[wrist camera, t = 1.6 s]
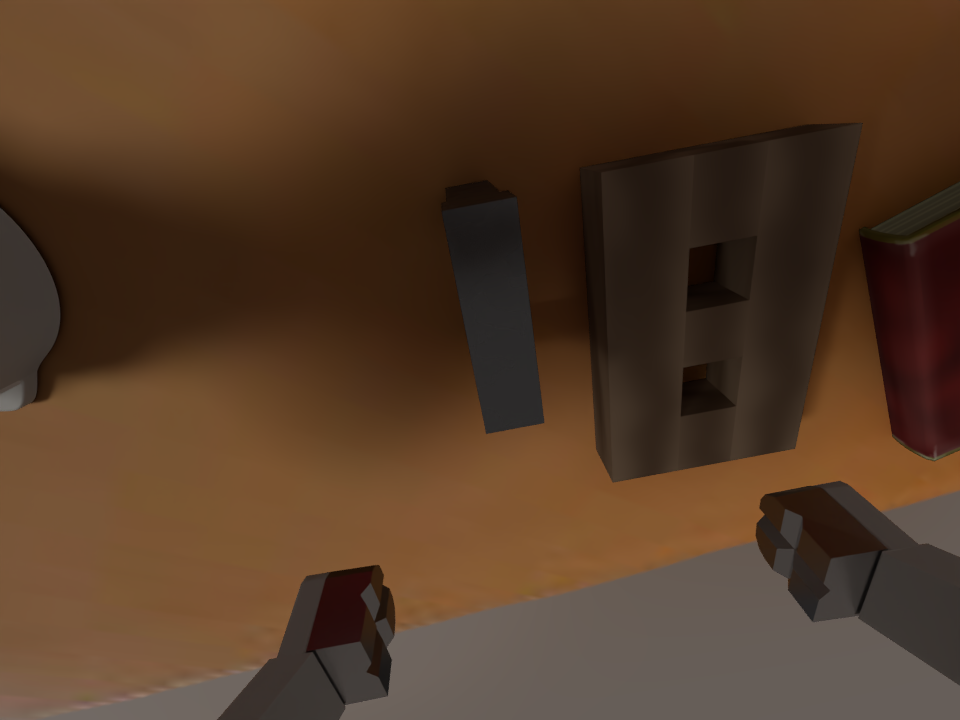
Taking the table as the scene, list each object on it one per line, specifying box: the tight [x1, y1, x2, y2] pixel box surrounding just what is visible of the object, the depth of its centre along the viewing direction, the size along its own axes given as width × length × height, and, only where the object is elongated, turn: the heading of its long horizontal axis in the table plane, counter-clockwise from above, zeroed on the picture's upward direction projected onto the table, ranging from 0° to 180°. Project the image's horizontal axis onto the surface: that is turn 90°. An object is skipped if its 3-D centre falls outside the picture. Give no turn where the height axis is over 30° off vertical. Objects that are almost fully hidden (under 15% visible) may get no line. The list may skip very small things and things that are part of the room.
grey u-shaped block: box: [441, 180, 544, 434], centre depth 24 cm, size 3×11×10 cm, turn 10°
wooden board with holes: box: [580, 123, 863, 482], centre depth 30 cm, size 14×22×4 cm, turn 10°
